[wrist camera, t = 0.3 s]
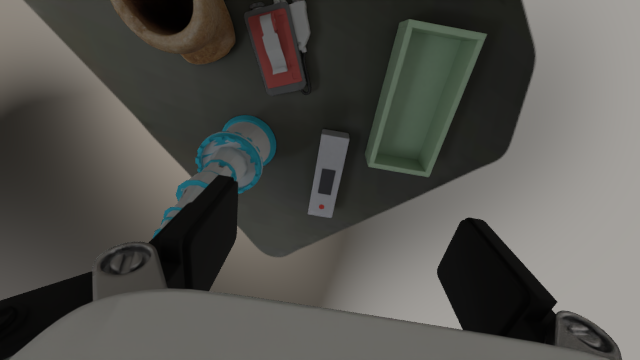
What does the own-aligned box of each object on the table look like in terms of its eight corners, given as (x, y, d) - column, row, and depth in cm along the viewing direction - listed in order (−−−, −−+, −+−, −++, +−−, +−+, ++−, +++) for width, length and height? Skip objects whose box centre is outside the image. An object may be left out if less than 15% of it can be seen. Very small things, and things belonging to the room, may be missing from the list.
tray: (399, 22, 37) (409, 19, 32) (467, 35, 38) (487, 34, 33) (364, 154, 47) (368, 166, 42) (419, 163, 47) (429, 177, 42)
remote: (322, 128, 45) (321, 134, 42) (348, 133, 45) (349, 139, 42) (309, 205, 52) (307, 214, 49) (331, 208, 53) (331, 218, 50)
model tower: (211, 125, 46) (38, 234, 19) (262, 107, 44) (150, 201, 17) (236, 173, 50) (123, 319, 23) (284, 159, 48) (221, 300, 21)
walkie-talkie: (323, 89, 42) (291, -70, 33) (322, 94, 38) (285, -86, 29) (272, 101, 43) (228, -50, 35) (265, 106, 39) (214, -63, 31)
